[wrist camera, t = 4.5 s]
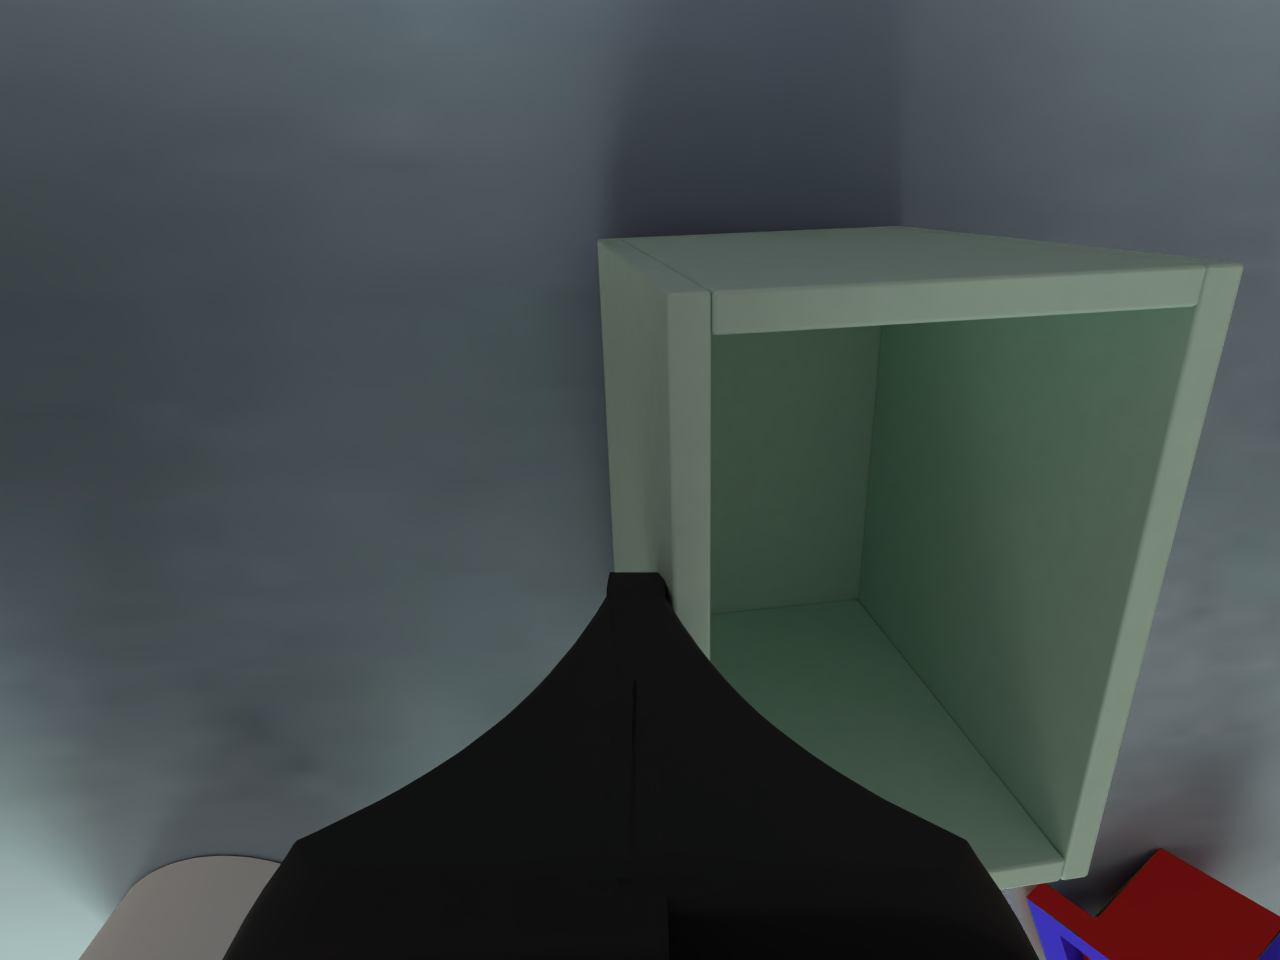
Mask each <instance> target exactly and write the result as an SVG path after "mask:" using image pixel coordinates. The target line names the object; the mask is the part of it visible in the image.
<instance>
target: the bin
mask: <svg viewBox="0 0 1280 960" xmlns="http://www.w3.org/2000/svg"><path fill="white" fill-rule="evenodd" d="M597 244H598V264H599V283H600V302H601V322H602V341H603V360H604V380H605V399H606V418H607V438H608V457H609V477H610V496H611V515H612V535H613V554H614V572H658V573H659V574H660V575H661V576H662V578H663V579H664V580H665V587H666V597H667V599H668V601H669V603H670V605H671V606H672V608H673V610H674V611H675V613H676V615H677V616H678V618H679V619H680V621H681V623H682V624H683V626H684V627H685V628H686V630H687V631H688V633H689V634H690V635H691V637H692V638H693V640H694V641H695V642H696V644H697V645H698V647H699V648H700V649H701V650H702V652H703V653H704V654H705V656H706V657H707V658H708V659H709V661H710V662H711V663H712V664H713V665H714V666H715V668H716V669H717V670H718V671H719V672H720V673H721V675H722V676H723V677H724V678H725V679H726V680H727V681H728V683H729V684H730V685H731V686H732V687H733V688H734V689H735V690H736V691H737V692H738V693H739V694H740V695H741V696H742V697H743V698H744V699H745V700H746V701H747V702H748V703H749V704H750V705H751V706H752V707H753V708H754V709H755V710H756V711H757V712H759V713H760V714H761V715H762V716H763V717H764V718H765V719H767V720H768V721H769V722H770V723H771V724H773V725H774V726H775V727H776V728H778V729H779V730H780V731H782V732H783V733H784V734H785V735H787V736H788V737H789V738H791V739H792V740H793V741H795V742H796V743H797V744H799V745H800V746H801V747H803V748H804V749H805V750H807V751H808V752H809V753H811V754H812V755H814V756H815V757H817V758H818V759H820V760H821V761H823V762H824V763H826V764H827V765H829V766H830V767H832V768H833V769H835V770H836V771H838V772H840V773H841V774H843V775H845V776H846V777H848V778H850V779H851V780H853V781H854V782H856V783H858V784H859V785H861V786H863V787H864V788H866V789H868V790H869V791H871V792H873V793H874V794H876V795H878V796H880V797H881V798H883V799H885V800H887V801H889V802H891V803H893V804H895V805H897V806H899V807H901V808H903V809H905V810H907V811H909V812H911V813H913V814H915V815H917V816H919V817H921V818H923V819H925V820H927V821H929V822H931V823H933V824H935V825H937V826H939V827H941V828H943V829H945V830H947V831H949V832H951V833H953V834H955V835H957V836H959V837H961V838H963V839H965V840H967V841H968V843H969V844H970V846H971V847H972V849H973V851H974V852H975V854H976V855H977V857H978V858H979V860H980V861H981V863H982V864H983V866H984V867H985V869H986V870H987V871H988V873H989V874H990V876H991V877H992V879H993V880H994V882H995V883H996V884H997V886H998V887H999V889H1000V890H1002V889H1009V888H1015V887H1022V886H1028V885H1035V884H1041V883H1048V882H1054V881H1058V880H1059V879H1060V878H1061V879H1062V880H1067V879H1074V878H1080V877H1085V876H1087V875H1088V871H1089V867H1090V863H1091V859H1092V856H1093V852H1094V848H1095V844H1096V840H1097V836H1098V832H1099V828H1100V824H1101V820H1102V817H1103V813H1104V809H1105V805H1106V801H1107V797H1108V793H1109V789H1110V785H1111V782H1112V778H1113V774H1114V770H1115V766H1116V762H1117V758H1118V754H1119V750H1120V747H1121V743H1122V739H1123V735H1124V731H1125V727H1126V723H1127V719H1128V715H1129V712H1130V708H1131V704H1132V700H1133V696H1134V692H1135V688H1136V684H1137V680H1138V677H1139V673H1140V669H1141V665H1142V661H1143V657H1144V653H1145V649H1146V645H1147V642H1148V638H1149V634H1150V630H1151V626H1152V622H1153V618H1154V614H1155V610H1156V607H1157V603H1158V599H1159V595H1160V591H1161V587H1162V583H1163V579H1164V575H1165V572H1166V568H1167V564H1168V560H1169V556H1170V552H1171V548H1172V544H1173V540H1174V536H1175V533H1176V529H1177V525H1178V521H1179V517H1180V513H1181V509H1182V505H1183V501H1184V498H1185V494H1186V490H1187V486H1188V482H1189V478H1190V474H1191V470H1192V466H1193V463H1194V459H1195V455H1196V451H1197V447H1198V443H1199V439H1200V435H1201V431H1202V428H1203V424H1204V420H1205V416H1206V412H1207V408H1208V404H1209V400H1210V396H1211V393H1212V389H1213V385H1214V381H1215V377H1216V373H1217V369H1218V365H1219V361H1220V358H1221V354H1222V350H1223V346H1224V342H1225V338H1226V334H1227V330H1228V326H1229V323H1230V319H1231V315H1232V311H1233V307H1234V303H1235V299H1236V295H1237V291H1238V288H1239V284H1240V280H1241V276H1242V272H1243V268H1244V267H1243V264H1241V263H1239V262H1233V261H1224V260H1215V259H1205V258H1196V257H1187V256H1177V255H1168V254H1159V253H1149V252H1140V251H1131V250H1121V249H1112V248H1103V247H1093V246H1084V245H1075V244H1065V243H1056V242H1046V241H1037V240H1028V239H1018V238H1009V237H1000V236H990V235H981V234H972V233H962V232H953V231H944V230H934V229H925V228H916V227H906V226H882V227H859V228H837V229H814V230H791V231H769V232H746V233H723V234H701V235H678V236H655V237H633V238H610V239H599V240H598V242H597Z"/></svg>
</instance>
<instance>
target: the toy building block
mask: <svg viewBox="0 0 1280 960" xmlns="http://www.w3.org/2000/svg"><path fill="white" fill-rule="evenodd" d="M1026 899H1027V902H1028V905H1029V908H1030V911H1031V914H1032V917H1033V921H1034V924H1035V927H1036V930H1037V933H1038V936H1039V939H1040V942H1041V945H1042V948H1043V951H1044V954H1045V957H1046V960H1280V916H1278V915H1276V914H1275V913H1273V912H1271V911H1269V910H1268V909H1266V908H1264V907H1262V906H1261V905H1259V904H1257V903H1255V902H1254V901H1252V900H1250V899H1248V898H1247V897H1245V896H1243V895H1242V894H1240V893H1238V892H1236V891H1235V890H1233V889H1231V888H1229V887H1228V886H1226V885H1224V884H1222V883H1221V882H1219V881H1217V880H1215V879H1214V878H1212V877H1210V876H1209V875H1207V874H1205V873H1203V872H1202V871H1200V870H1198V869H1196V868H1195V867H1193V866H1191V865H1189V864H1188V863H1186V862H1184V861H1182V860H1181V859H1179V858H1177V857H1176V856H1174V855H1172V854H1170V853H1169V852H1167V851H1165V850H1163V849H1162V848H1160V849H1159V850H1158V851H1157V852H1156V853H1155V854H1154V855H1153V856H1152V857H1151V858H1150V859H1149V860H1148V861H1147V862H1146V863H1145V864H1144V865H1143V866H1142V867H1141V868H1140V870H1139V871H1138V872H1137V873H1136V874H1135V875H1134V876H1133V877H1132V878H1131V879H1130V880H1129V881H1128V882H1127V883H1126V884H1125V885H1124V886H1123V887H1122V888H1121V889H1120V890H1119V891H1118V892H1117V894H1116V895H1115V896H1114V897H1113V898H1112V899H1111V900H1110V901H1109V902H1108V903H1107V904H1106V905H1105V906H1104V907H1103V908H1102V909H1101V910H1100V911H1099V912H1098V913H1097V914H1096V915H1095V917H1092V916H1091V915H1090V914H1088V913H1087V912H1085V911H1084V910H1082V909H1081V908H1080V907H1078V906H1077V905H1075V904H1074V903H1073V902H1071V901H1070V900H1068V899H1067V898H1066V897H1064V896H1063V895H1061V894H1060V893H1059V892H1057V891H1056V890H1054V889H1053V888H1051V887H1050V886H1049V885H1047V884H1046V883H1041V884H1039V885H1038V886H1037V887H1036V888H1035V889H1034V890H1033V891H1032V892H1031V893H1030V894H1029V895H1028V896H1027V897H1026Z"/></svg>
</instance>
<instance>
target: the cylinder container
mask: <svg viewBox="0 0 1280 960" xmlns="http://www.w3.org/2000/svg"><path fill="white" fill-rule="evenodd" d="M280 865H281V864H280V863H276V862H271V861H267V860H262V859H257V858H250V857H239V856H209V857H198V858H192V859H188V860H183V861H179V862H176V863H172V864H169V865H167V866H164V867H162V868H160V869H158V870H156V871H154V872H152V873H150V874H148V875H147V876H145V877H144V878H143V879H141V880H140V881H139V882H137V883H136V884H135V885H134V886H133V887H132V888H131V889H130V890H129V891H128V892H127V894H126V895H125V896H124V898H123V899H122V901H121V902H120V903H119V905H118V906H117V907H116V909H115V910H114V912H113V913H112V914H111V916H110V917H109V918H108V920H107V921H106V923H105V924H104V925H103V927H102V928H101V929H100V931H99V932H98V934H97V935H96V936H95V938H94V939H93V941H92V942H91V943H90V945H89V946H88V947H87V949H86V950H85V952H84V953H83V954H82V956H81V957H80V958H79V960H222V959H223V957H224V955H225V954H226V952H227V950H228V948H229V946H230V945H231V943H232V941H233V939H234V937H235V935H236V934H237V932H238V930H239V928H240V926H241V924H242V923H243V921H244V919H245V917H246V916H247V914H248V913H249V911H250V909H251V908H252V906H253V904H254V903H255V901H256V900H257V898H258V896H259V895H260V893H261V892H262V890H263V888H264V887H265V886H266V884H267V883H268V881H269V880H270V879H271V877H272V876H273V874H274V873H275V872H276V870H277V869H278V867H279V866H280Z"/></svg>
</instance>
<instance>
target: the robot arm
mask: <svg viewBox="0 0 1280 960" xmlns="http://www.w3.org/2000/svg"><path fill="white" fill-rule="evenodd" d="M222 960H1039V958H1038V956H1037V954H1036V952H1035V950H1034V949H1033V947H1032V945H1031V943H1030V941H1029V939H1028V937H1027V935H1026V933H1025V931H1024V929H1023V927H1022V926H1021V924H1020V922H1019V920H1018V918H1017V917H1016V915H1015V913H1014V912H1013V910H1012V909H1011V907H1010V905H1009V904H1008V902H1007V900H1006V899H1005V897H1004V895H1003V894H1002V892H1001V891H1000V889H999V887H998V886H997V884H996V883H995V882H994V880H993V879H992V877H991V876H990V874H989V873H988V871H987V870H986V869H985V867H984V866H983V864H982V863H981V861H980V860H979V858H978V857H977V855H976V854H975V852H974V851H973V849H972V847H971V846H970V844H969V843H968V841H967V840H965V839H963V838H961V837H959V836H957V835H955V834H953V833H951V832H949V831H947V830H945V829H943V828H941V827H939V826H937V825H935V824H933V823H931V822H929V821H927V820H925V819H923V818H921V817H919V816H917V815H915V814H913V813H911V812H909V811H907V810H905V809H903V808H901V807H899V806H897V805H895V804H893V803H891V802H889V801H887V800H885V799H883V798H881V797H880V796H878V795H876V794H874V793H873V792H871V791H869V790H868V789H866V788H864V787H863V786H861V785H859V784H858V783H856V782H854V781H853V780H851V779H850V778H848V777H846V776H845V775H843V774H841V773H840V772H838V771H836V770H835V769H833V768H832V767H830V766H829V765H827V764H826V763H824V762H823V761H821V760H820V759H818V758H817V757H815V756H814V755H812V754H811V753H809V752H808V751H807V750H805V749H804V748H803V747H801V746H800V745H799V744H797V743H796V742H795V741H793V740H792V739H791V738H789V737H788V736H787V735H785V734H784V733H783V732H782V731H780V730H779V729H778V728H776V727H775V726H774V725H773V724H771V723H770V722H769V721H768V720H767V719H765V718H764V717H763V716H762V715H761V714H760V713H759V712H757V711H756V710H755V709H754V708H753V707H752V706H751V705H750V704H749V703H748V702H747V701H746V700H745V699H744V698H743V697H742V696H741V695H740V694H739V693H738V692H737V691H736V690H735V689H734V688H733V687H732V686H731V685H730V684H729V683H728V681H727V680H726V679H725V678H724V677H723V676H722V675H721V673H720V672H719V671H718V670H717V669H716V668H715V666H714V665H713V664H712V663H711V662H710V661H709V659H708V658H707V657H706V656H705V654H704V653H703V652H702V650H701V649H700V648H699V647H698V645H697V644H696V642H695V641H694V640H693V638H692V637H691V635H690V634H689V633H688V631H687V630H686V628H685V627H684V626H683V624H682V623H681V621H680V619H679V618H678V616H677V615H676V613H675V611H674V610H673V608H672V606H671V605H670V603H669V601H668V599H667V597H666V587H665V580H664V579H663V578H662V576H661V575H660V574H659V573H658V572H610V574H609V579H608V585H607V596H606V598H605V600H604V602H603V603H602V605H601V606H600V608H599V610H598V611H597V613H596V614H595V616H594V617H593V619H592V620H591V622H590V623H589V624H588V626H587V627H586V629H585V630H584V632H583V633H582V634H581V636H580V637H579V639H578V640H577V641H576V643H575V644H574V645H573V646H572V648H571V649H570V650H569V651H568V652H567V654H566V655H565V656H564V657H563V658H562V659H561V661H560V662H559V663H558V664H557V665H556V667H555V668H554V669H553V670H552V671H551V673H550V674H549V675H548V676H547V677H546V678H545V679H544V680H543V681H542V682H541V683H540V684H539V685H538V686H537V688H536V689H535V690H534V691H533V692H532V693H531V694H530V695H529V696H528V697H526V698H525V699H524V700H523V701H522V702H521V703H520V704H519V705H518V706H517V707H516V708H515V709H514V710H513V711H511V712H510V713H509V714H508V715H507V716H506V717H505V718H503V719H502V720H501V721H500V722H499V723H497V724H496V725H495V726H493V727H492V728H491V729H490V730H488V731H487V732H486V733H484V734H483V735H482V736H480V737H479V738H478V739H476V740H475V741H474V742H473V743H471V744H470V745H469V746H467V747H466V748H465V749H463V750H462V751H460V752H459V753H458V754H456V755H455V756H453V757H451V758H450V759H448V760H447V761H445V762H444V763H442V764H441V765H439V766H438V767H436V768H435V769H433V770H432V771H430V772H428V773H427V774H425V775H423V776H422V777H420V778H418V779H416V780H415V781H413V782H411V783H410V784H408V785H406V786H405V787H403V788H401V789H400V790H398V791H396V792H394V793H392V794H391V795H389V796H387V797H385V798H383V799H382V800H380V801H378V802H376V803H374V804H372V805H370V806H368V807H366V808H363V809H361V810H359V811H357V812H355V813H353V814H351V815H349V816H347V817H345V818H343V819H341V820H339V821H337V822H335V823H333V824H331V825H329V826H327V827H325V828H323V829H321V830H319V831H317V832H315V833H313V834H310V835H308V836H306V837H304V838H301V839H299V840H297V841H296V842H295V843H294V845H293V846H292V848H291V849H290V851H289V853H288V854H287V856H286V857H285V859H284V860H283V862H282V863H281V865H280V866H279V867H278V869H277V870H276V872H275V873H274V874H273V876H272V877H271V879H270V880H269V881H268V883H267V884H266V886H265V887H264V888H263V890H262V892H261V893H260V895H259V896H258V898H257V900H256V901H255V903H254V904H253V906H252V908H251V909H250V911H249V913H248V914H247V916H246V917H245V919H244V921H243V923H242V924H241V926H240V928H239V930H238V932H237V934H236V935H235V937H234V939H233V941H232V943H231V945H230V946H229V948H228V950H227V952H226V954H225V955H224V957H223V959H222Z"/></svg>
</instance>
